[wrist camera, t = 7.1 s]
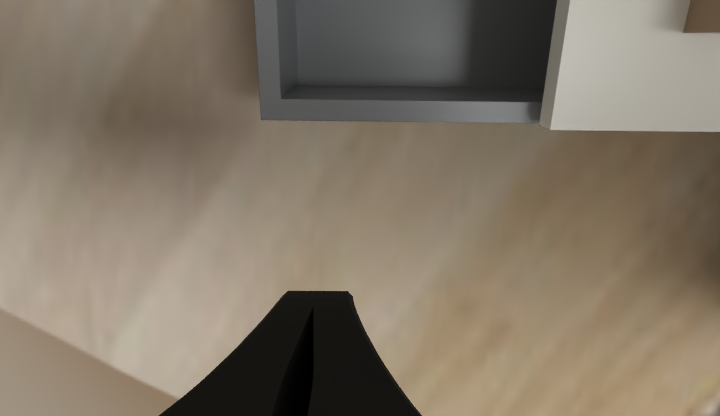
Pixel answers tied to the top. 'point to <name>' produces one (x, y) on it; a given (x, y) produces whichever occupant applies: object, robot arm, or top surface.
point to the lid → (634, 66)
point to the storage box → (403, 59)
